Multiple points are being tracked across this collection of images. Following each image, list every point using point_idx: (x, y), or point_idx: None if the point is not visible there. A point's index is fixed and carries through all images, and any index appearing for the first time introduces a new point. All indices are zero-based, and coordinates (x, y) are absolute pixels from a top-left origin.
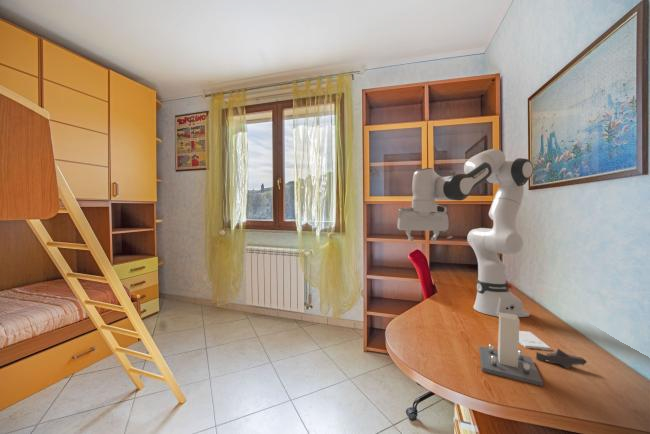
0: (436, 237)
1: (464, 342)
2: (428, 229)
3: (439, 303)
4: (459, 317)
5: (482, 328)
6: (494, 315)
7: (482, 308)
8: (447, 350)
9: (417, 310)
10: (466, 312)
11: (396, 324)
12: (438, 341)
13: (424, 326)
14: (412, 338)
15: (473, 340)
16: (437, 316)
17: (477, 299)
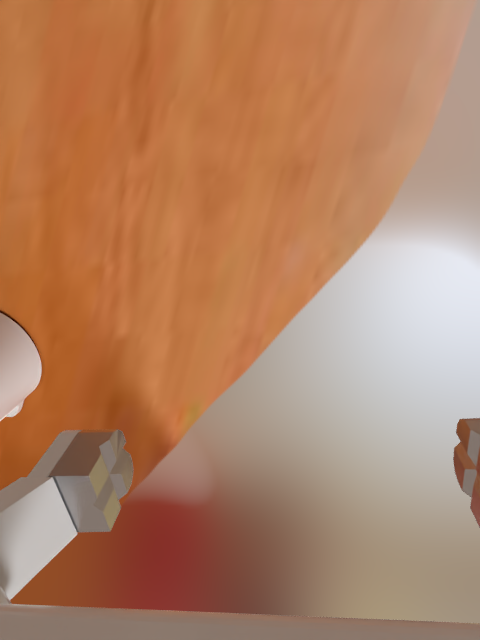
0: (21, 478)
1: (159, 35)
2: (117, 631)
3: (151, 409)
4: (113, 284)
5: (55, 189)
6: None
7: (11, 339)
8: None
9: (256, 337)
10: (75, 333)
11: (391, 184)
12: (263, 25)
13: (275, 178)
14: (367, 38)
15: (118, 62)
16: (194, 285)
17: (8, 379)
